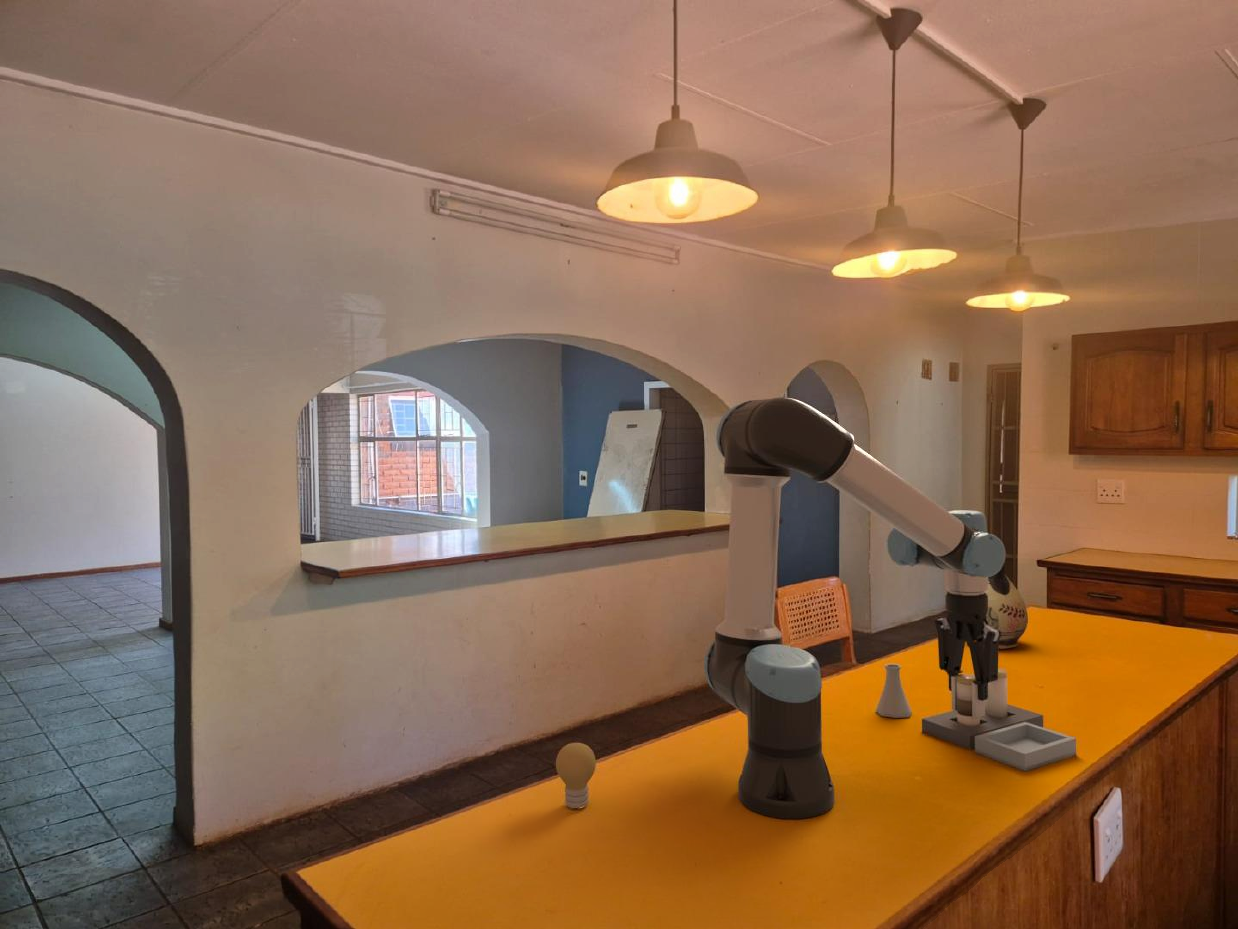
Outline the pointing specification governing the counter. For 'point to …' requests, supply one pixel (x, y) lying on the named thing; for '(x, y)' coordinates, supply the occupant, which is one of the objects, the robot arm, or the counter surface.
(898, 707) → the flask
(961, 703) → the cylinder
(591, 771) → the light bulb
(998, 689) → the cylinder
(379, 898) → the counter surface
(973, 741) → the block
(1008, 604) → the ceramic jug
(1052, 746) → the parts tray
